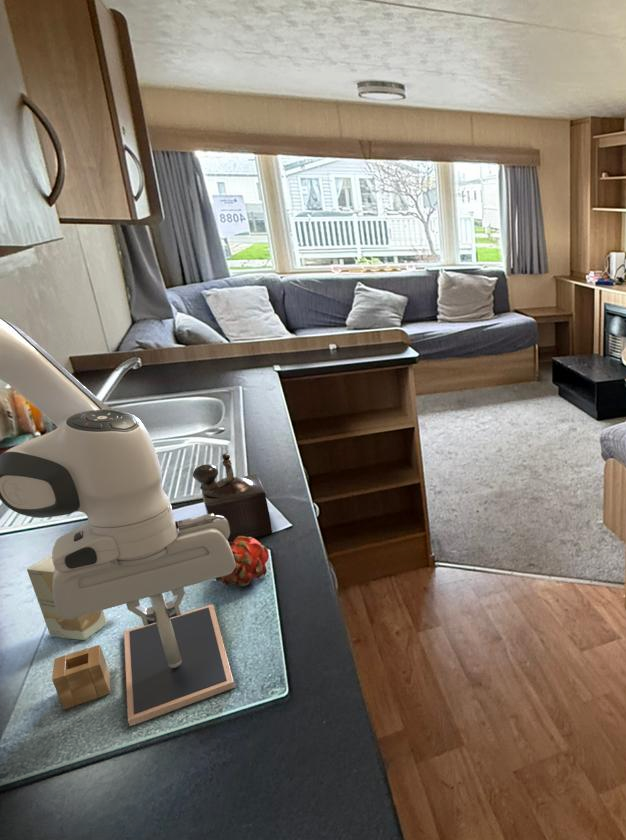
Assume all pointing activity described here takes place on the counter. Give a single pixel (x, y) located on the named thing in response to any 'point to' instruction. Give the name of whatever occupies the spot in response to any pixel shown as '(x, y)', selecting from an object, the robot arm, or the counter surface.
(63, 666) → the pen stand
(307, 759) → the counter surface
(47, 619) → the cosmetic box
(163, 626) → the stylus
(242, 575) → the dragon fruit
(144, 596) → the robot arm
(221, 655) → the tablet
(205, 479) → the brown manual coffee grinder
